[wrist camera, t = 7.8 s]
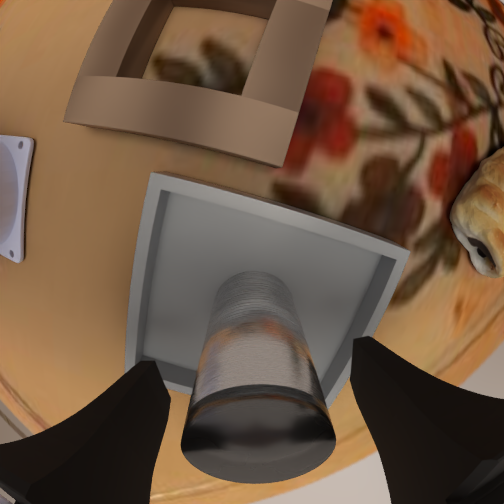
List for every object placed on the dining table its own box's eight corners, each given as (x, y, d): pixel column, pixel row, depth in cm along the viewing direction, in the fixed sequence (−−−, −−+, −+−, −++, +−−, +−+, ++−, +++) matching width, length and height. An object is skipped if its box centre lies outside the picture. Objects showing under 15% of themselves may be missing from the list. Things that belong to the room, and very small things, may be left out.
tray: (135, 354, 15) (124, 373, 13) (165, 171, 12) (151, 171, 11) (316, 395, 16) (322, 417, 14) (392, 240, 13) (410, 251, 12)
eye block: (89, 126, 12) (63, 121, 9) (154, -21, 9) (141, -42, 7) (276, 168, 12) (282, 167, 10) (325, 6, 10) (337, -18, 7)
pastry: (494, 117, 11) (532, 115, 8) (528, 187, 13) (561, 194, 9) (436, 215, 13) (479, 230, 10) (477, 280, 15) (511, 301, 11)
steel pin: (257, 352, 15) (263, 492, 6) (198, 311, 14) (154, 450, 6) (309, 303, 14) (364, 438, 6) (249, 254, 13) (249, 382, 5)
